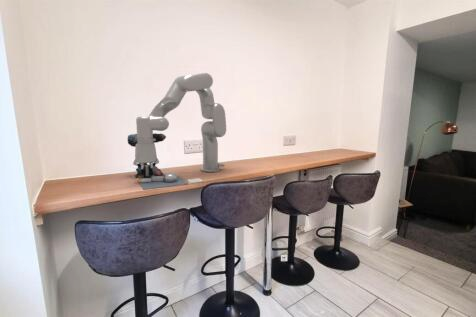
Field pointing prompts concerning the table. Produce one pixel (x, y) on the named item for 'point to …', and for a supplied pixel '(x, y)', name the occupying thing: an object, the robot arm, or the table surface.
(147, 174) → the key
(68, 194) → the table surface
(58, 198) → the table surface
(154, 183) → the board
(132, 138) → the power drill
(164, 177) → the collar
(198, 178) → the pad
